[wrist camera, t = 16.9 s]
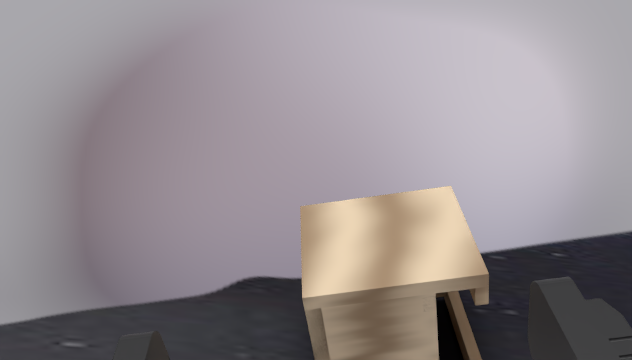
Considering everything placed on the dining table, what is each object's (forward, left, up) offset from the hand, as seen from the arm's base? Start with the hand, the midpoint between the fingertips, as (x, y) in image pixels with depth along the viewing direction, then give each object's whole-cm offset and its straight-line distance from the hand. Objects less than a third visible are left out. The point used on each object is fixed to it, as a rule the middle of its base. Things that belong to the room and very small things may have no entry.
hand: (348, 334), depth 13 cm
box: (+2, +23, -26) cm, 35 cm away
